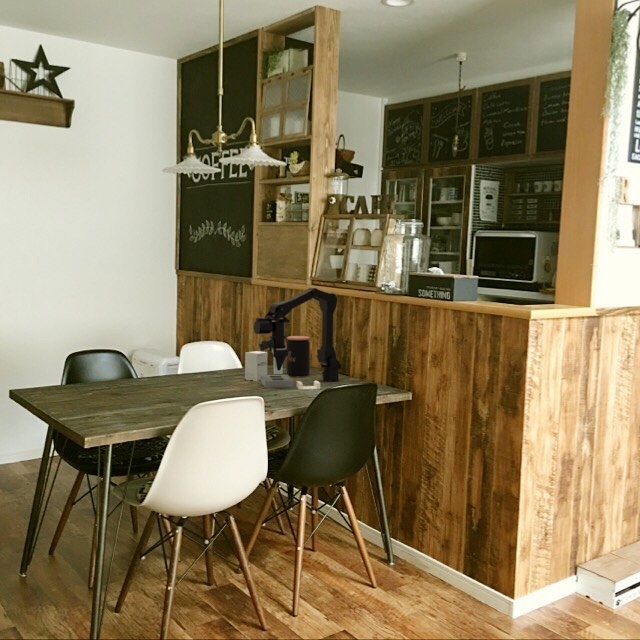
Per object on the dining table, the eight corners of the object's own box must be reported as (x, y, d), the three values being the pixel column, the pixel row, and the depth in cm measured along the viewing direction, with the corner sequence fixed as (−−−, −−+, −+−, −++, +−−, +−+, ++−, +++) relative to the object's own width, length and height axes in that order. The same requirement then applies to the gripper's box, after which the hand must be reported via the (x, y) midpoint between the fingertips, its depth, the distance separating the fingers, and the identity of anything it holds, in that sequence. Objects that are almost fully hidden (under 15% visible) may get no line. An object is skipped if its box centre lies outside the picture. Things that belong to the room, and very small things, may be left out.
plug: (281, 372, 313) (281, 353, 313) (282, 373, 310) (282, 354, 309) (273, 372, 313) (273, 353, 312) (274, 373, 309) (274, 354, 308)
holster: (317, 387, 312) (317, 380, 312) (320, 390, 305) (320, 383, 305) (296, 388, 310) (296, 381, 310) (299, 391, 303) (299, 383, 303)
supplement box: (256, 381, 326) (256, 353, 325) (244, 379, 331) (244, 352, 330) (267, 379, 332) (267, 351, 331) (255, 377, 337) (255, 350, 336)
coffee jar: (284, 373, 350) (284, 336, 348) (305, 372, 353) (306, 335, 351) (290, 377, 339) (290, 338, 338) (312, 376, 343) (312, 338, 341)
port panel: (287, 382, 324) (287, 374, 324) (293, 388, 308) (293, 379, 308) (260, 383, 322) (260, 374, 321) (265, 389, 306) (265, 380, 306)
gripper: (256, 331, 317) (256, 366, 319) (261, 335, 299) (261, 373, 300) (282, 330, 319) (282, 366, 321) (288, 335, 301) (288, 372, 303)
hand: (278, 369), depth 311 cm, fingers closed on plug, 3 cm apart
